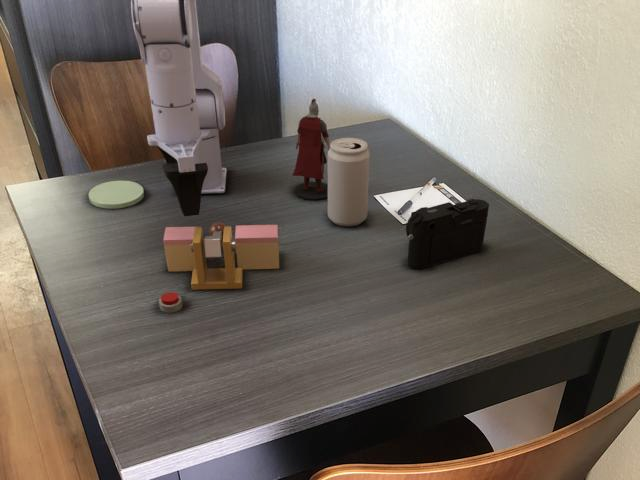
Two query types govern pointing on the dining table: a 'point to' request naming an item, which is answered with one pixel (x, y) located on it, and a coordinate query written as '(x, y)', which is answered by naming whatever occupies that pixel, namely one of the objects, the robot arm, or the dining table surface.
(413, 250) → the camera
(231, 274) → the stand
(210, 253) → the cutter
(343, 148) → the beverage can
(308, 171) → the figurine
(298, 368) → the dining table surface
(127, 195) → the plate
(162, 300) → the push button
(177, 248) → the cake slice
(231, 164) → the dining table surface
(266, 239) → the cake
